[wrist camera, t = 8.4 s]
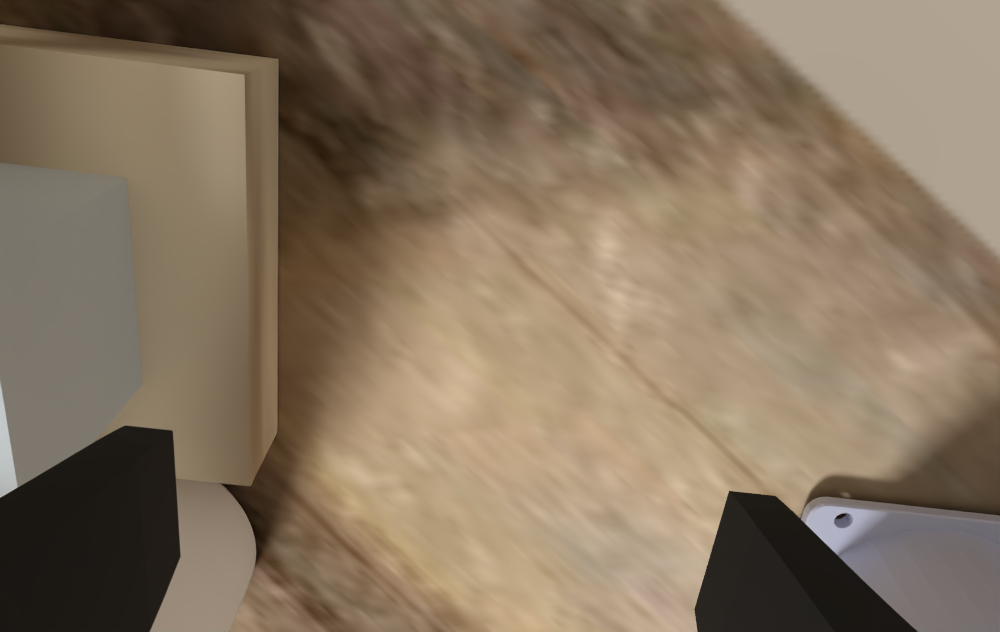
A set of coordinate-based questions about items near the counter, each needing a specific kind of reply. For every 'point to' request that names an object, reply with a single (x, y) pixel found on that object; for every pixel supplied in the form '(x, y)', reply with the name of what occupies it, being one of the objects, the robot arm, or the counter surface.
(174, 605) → the can
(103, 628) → the robot arm
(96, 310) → the block
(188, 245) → the base
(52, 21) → the counter surface
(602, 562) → the counter surface
